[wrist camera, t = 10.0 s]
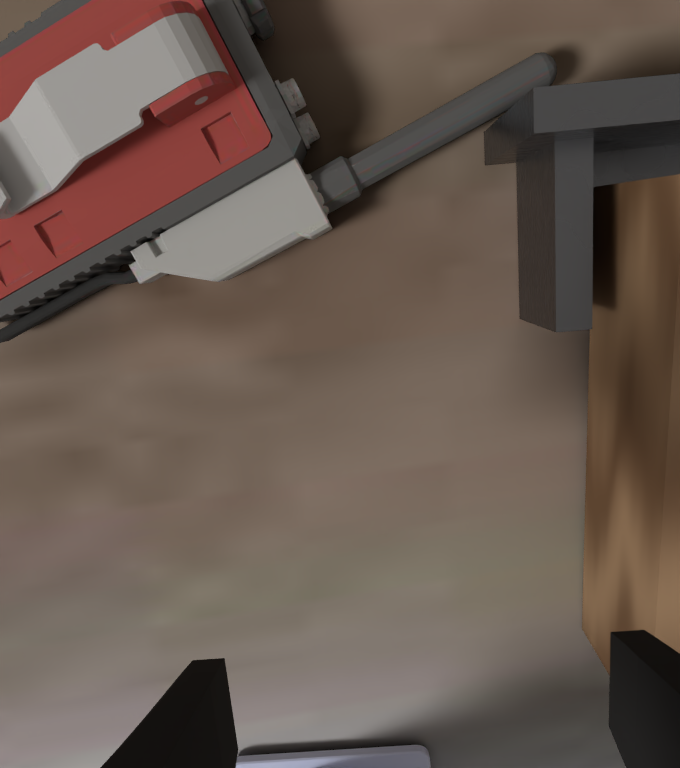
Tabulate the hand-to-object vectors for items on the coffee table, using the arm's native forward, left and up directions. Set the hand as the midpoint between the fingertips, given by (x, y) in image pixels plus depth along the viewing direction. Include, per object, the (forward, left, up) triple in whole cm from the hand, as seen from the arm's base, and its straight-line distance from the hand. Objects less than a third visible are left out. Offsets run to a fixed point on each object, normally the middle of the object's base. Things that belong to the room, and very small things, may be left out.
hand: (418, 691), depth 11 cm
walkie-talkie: (+12, +5, -11) cm, 17 cm away
